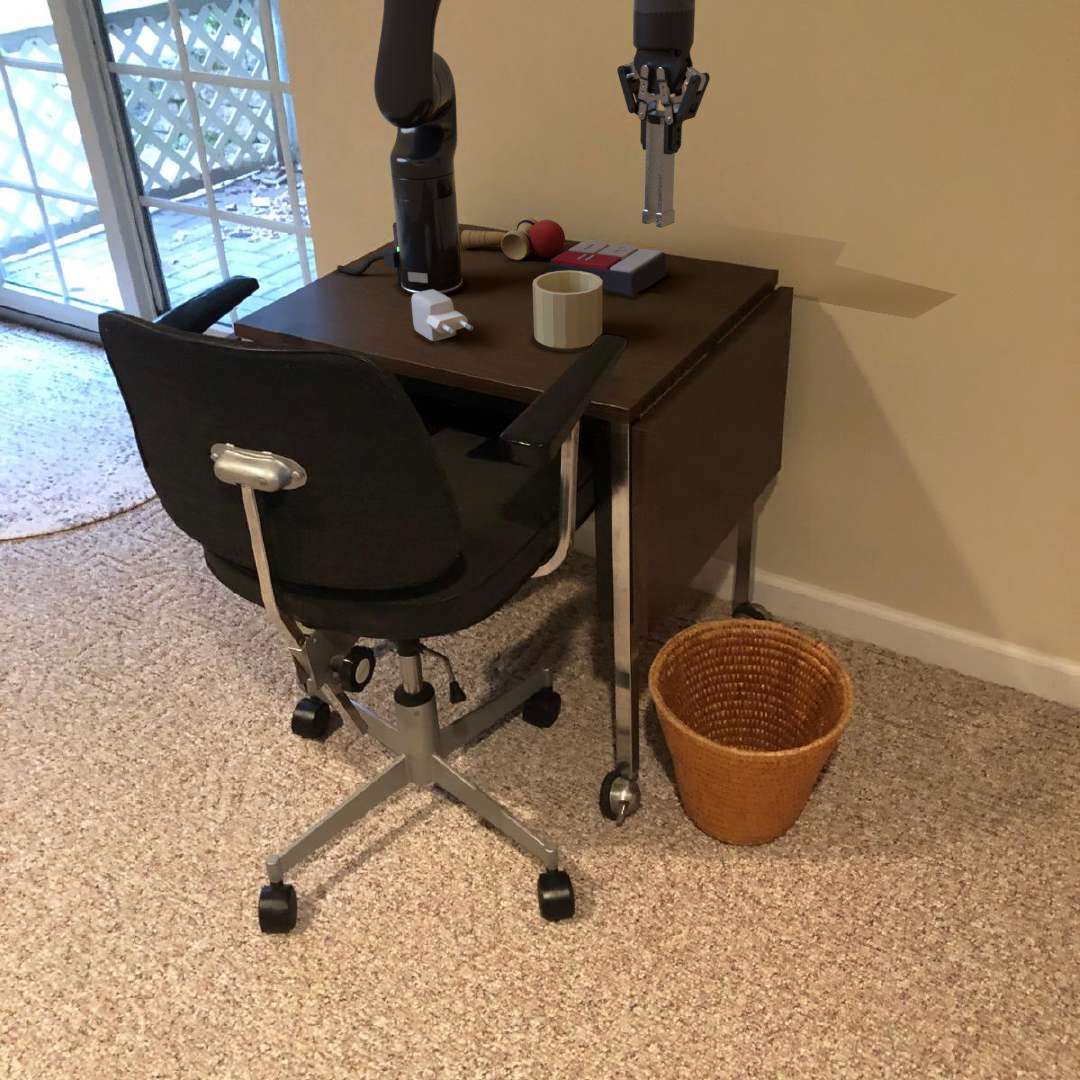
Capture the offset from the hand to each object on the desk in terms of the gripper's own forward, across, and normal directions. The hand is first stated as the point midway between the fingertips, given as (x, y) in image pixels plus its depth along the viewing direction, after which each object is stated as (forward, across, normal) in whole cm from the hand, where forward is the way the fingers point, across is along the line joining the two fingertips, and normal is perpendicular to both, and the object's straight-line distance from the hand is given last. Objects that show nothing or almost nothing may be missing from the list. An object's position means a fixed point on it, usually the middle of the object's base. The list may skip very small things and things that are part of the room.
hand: (660, 150), depth 141 cm
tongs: (+10, 0, 0) cm, 10 cm away
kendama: (+23, +35, -5) cm, 42 cm away
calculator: (+23, +15, -6) cm, 28 cm away
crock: (+23, +3, +15) cm, 27 cm away
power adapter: (+23, +15, +27) cm, 38 cm away
